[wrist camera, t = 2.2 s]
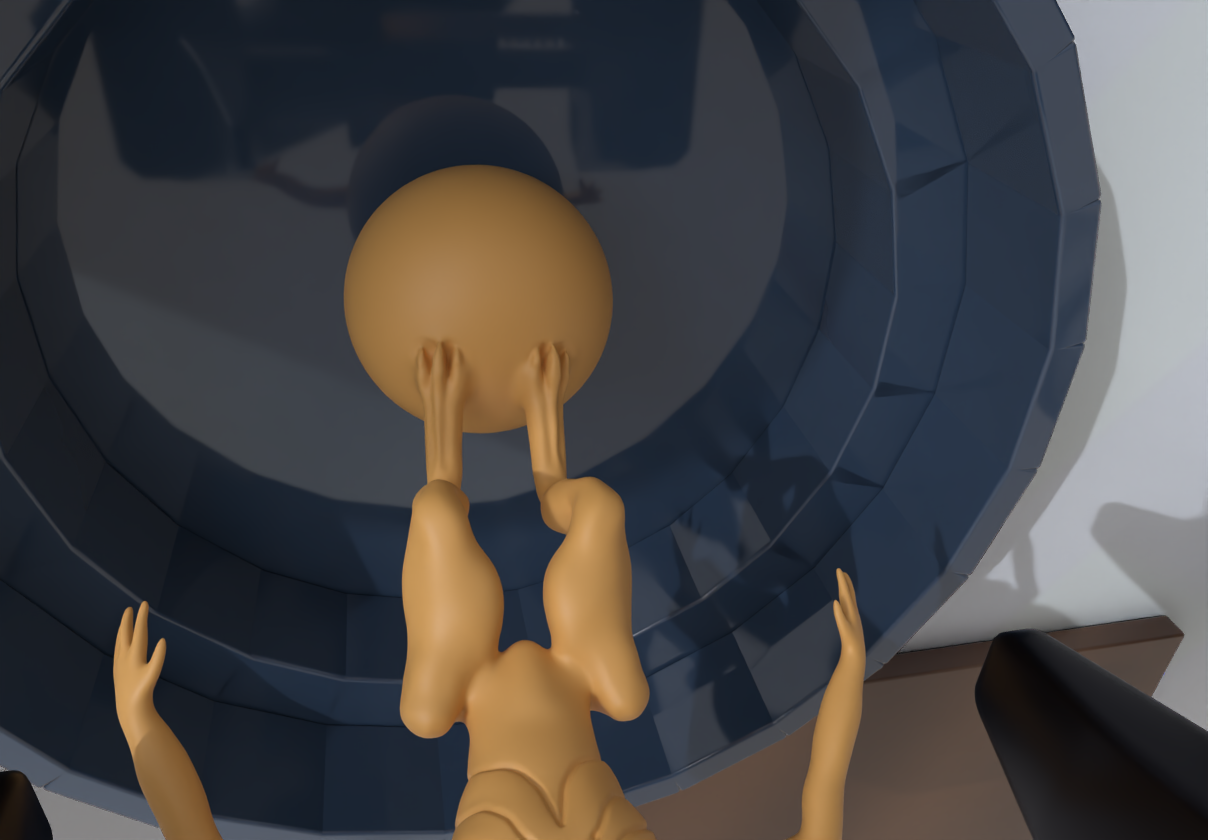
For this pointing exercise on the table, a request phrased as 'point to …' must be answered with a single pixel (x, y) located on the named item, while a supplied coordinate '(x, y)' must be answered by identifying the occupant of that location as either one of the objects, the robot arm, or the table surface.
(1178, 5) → the table surface
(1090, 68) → the table surface
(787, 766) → the walnut board
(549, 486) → the figurine
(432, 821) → the basin
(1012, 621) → the table surface
